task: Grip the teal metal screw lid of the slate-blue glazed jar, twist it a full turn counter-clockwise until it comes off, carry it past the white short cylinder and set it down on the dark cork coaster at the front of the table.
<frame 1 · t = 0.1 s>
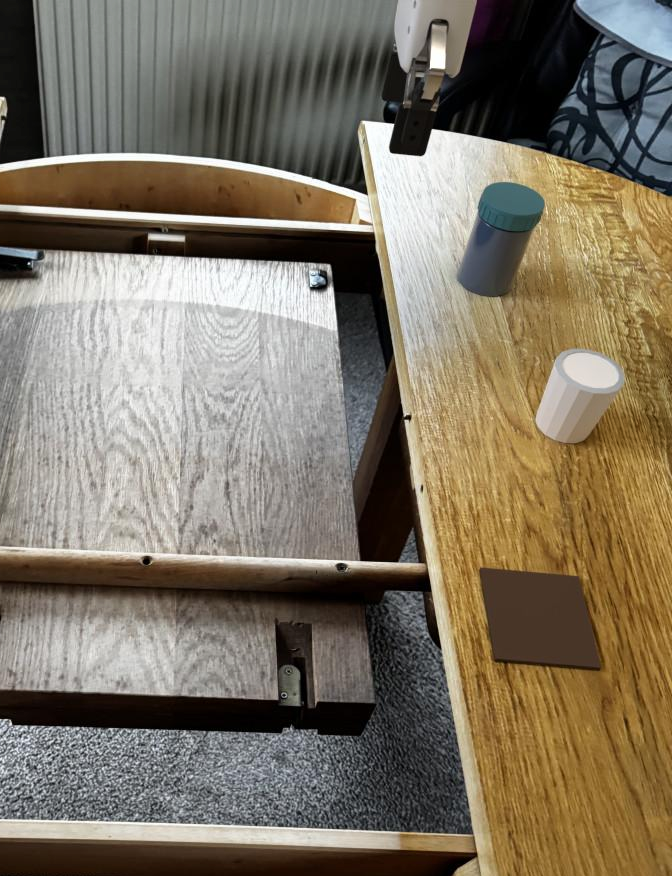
hand: (401, 126, 84), 22 cm above the table, tool pointing down, fingers open, 9 cm apart
lid: (512, 201, 103), point 10 cm above the table, screwed on, not yet turned
coaster: (537, 618, 81), on the table
white short cylinder: (561, 426, 96), on the table
jar: (484, 280, 111), on the table
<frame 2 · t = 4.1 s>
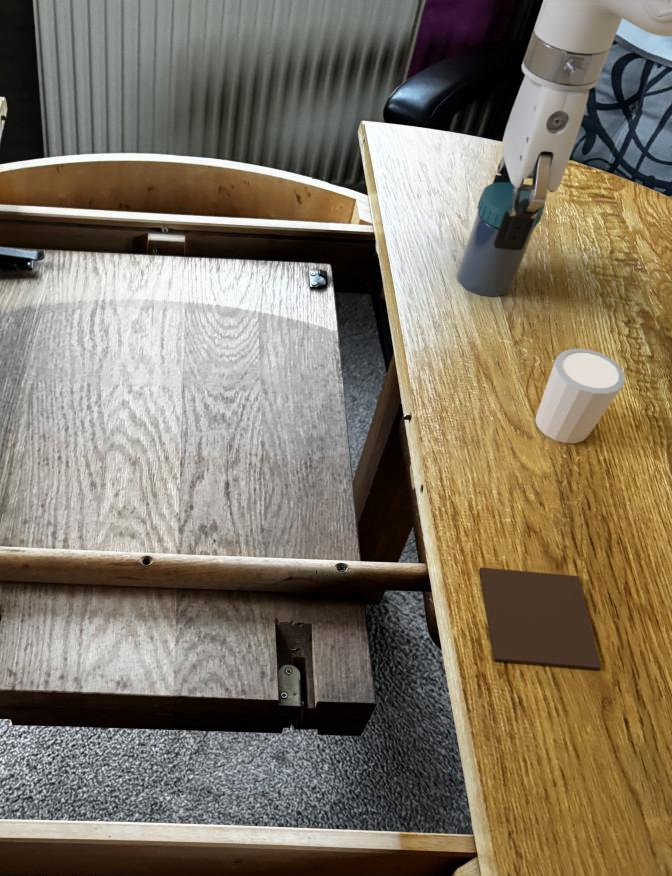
hand: (503, 228, 105), 7 cm above the table, tool pointing down, fingers closed on lid, 6 cm apart
lid: (512, 201, 103), point 10 cm above the table, screwed on, not yet turned, touching gripper
everything else where it was.
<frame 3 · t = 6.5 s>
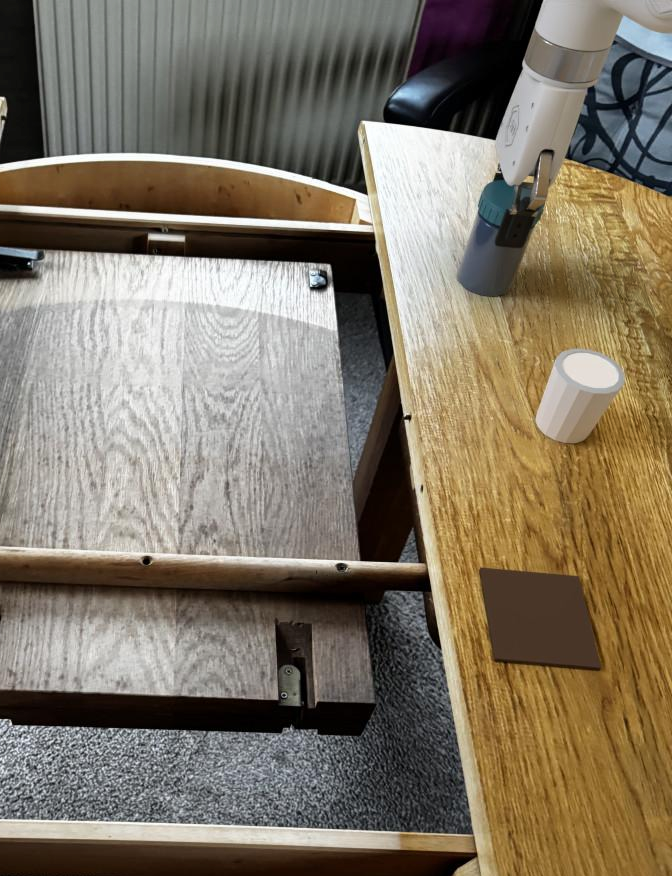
hand: (503, 225, 105), 7 cm above the table, tool pointing down, fingers closed on lid, 6 cm apart
lid: (513, 199, 103), point 10 cm above the table, turned 180° so far, risen 0.2 cm, still on its thread, touching gripper
everything else where it was.
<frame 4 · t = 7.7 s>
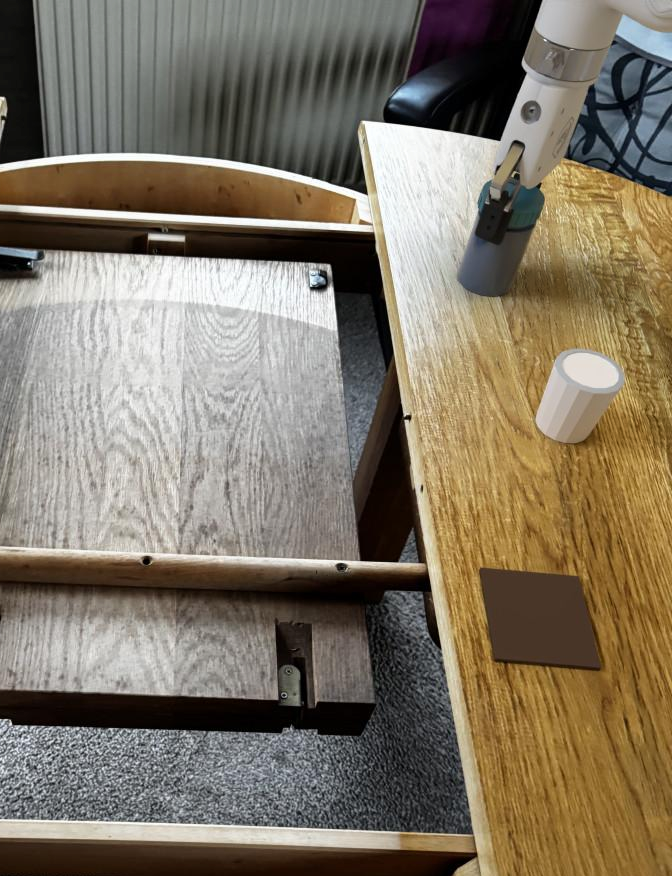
hand: (502, 224, 105), 7 cm above the table, tool pointing down, fingers closed on lid, 6 cm apart
lid: (512, 197, 102), point 10 cm above the table, off its thread, touching gripper
everything else where it was.
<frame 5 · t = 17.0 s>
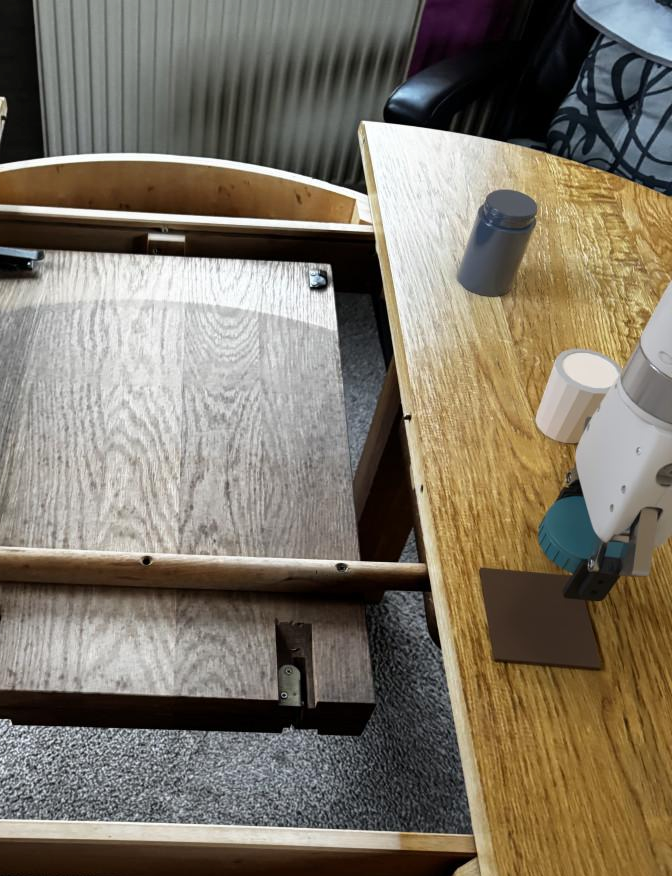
hand: (573, 559, 74), 8 cm above the table, tool pointing down, fingers closed on lid, 6 cm apart
lid: (589, 531, 72), point 11 cm above the table, off its thread, touching gripper
everything else where it was.
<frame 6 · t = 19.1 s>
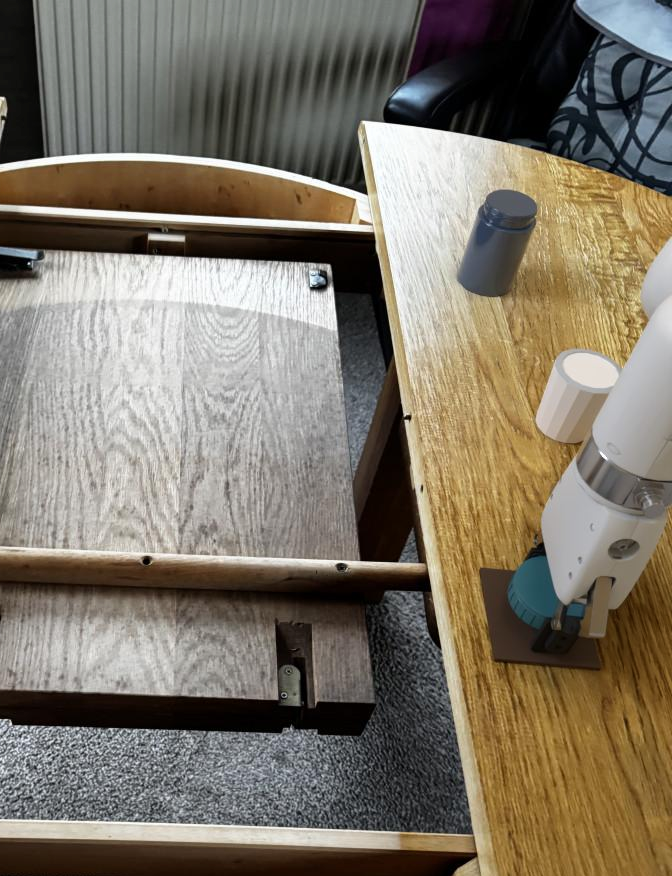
hand: (540, 613, 80), 1 cm above the table, tool pointing down, fingers closed on lid, 6 cm apart
lid: (554, 589, 78), point 4 cm above the table, off its thread, touching gripper
everything else where it was.
when the fingers open (2 cm above the table, at t = 30.0 s): lid drops 3 cm, resting on coaster.
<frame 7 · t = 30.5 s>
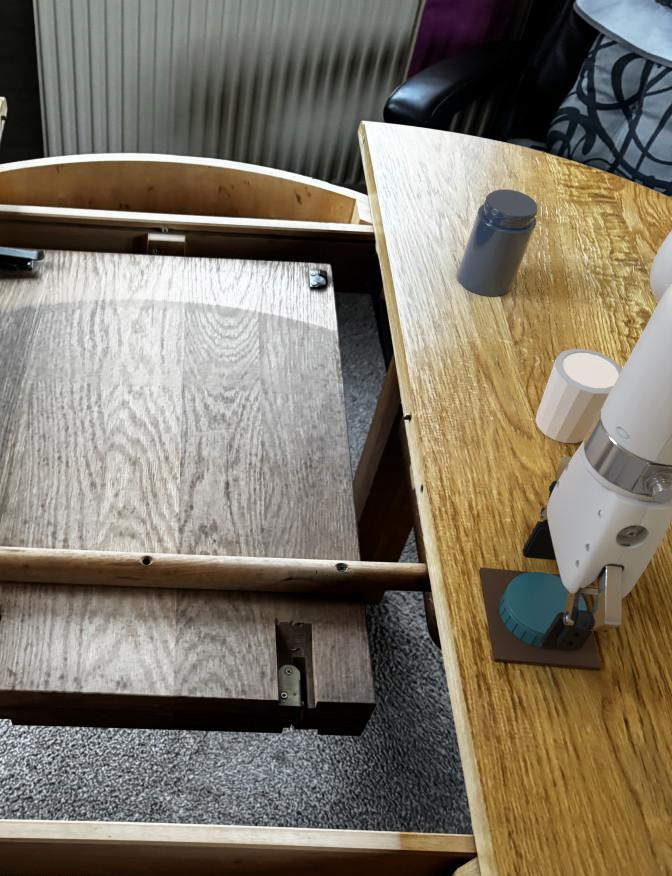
hand: (548, 599, 79), 3 cm above the table, tool pointing down, fingers open, 9 cm apart
lid: (544, 605, 79), point 2 cm above the table, off its thread, touching coaster
everything else where it was.
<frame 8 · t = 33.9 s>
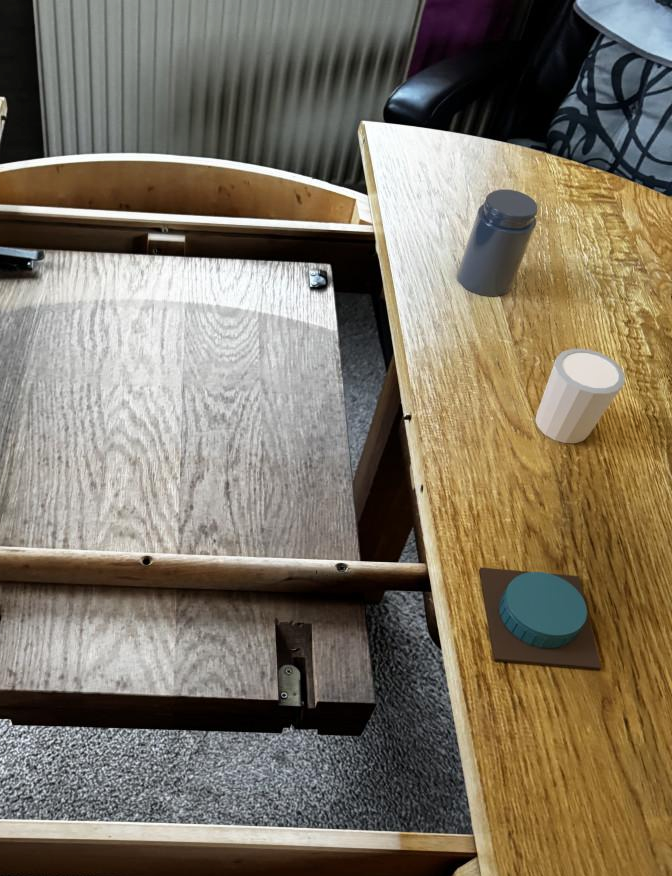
nothing on the table moved.
at the end: lid inside the target area on the coaster (0.1 cm from its centre), point 1.9 cm above the coaster's base; the gripper is holding nothing; lid point 1.9 cm above the table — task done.
